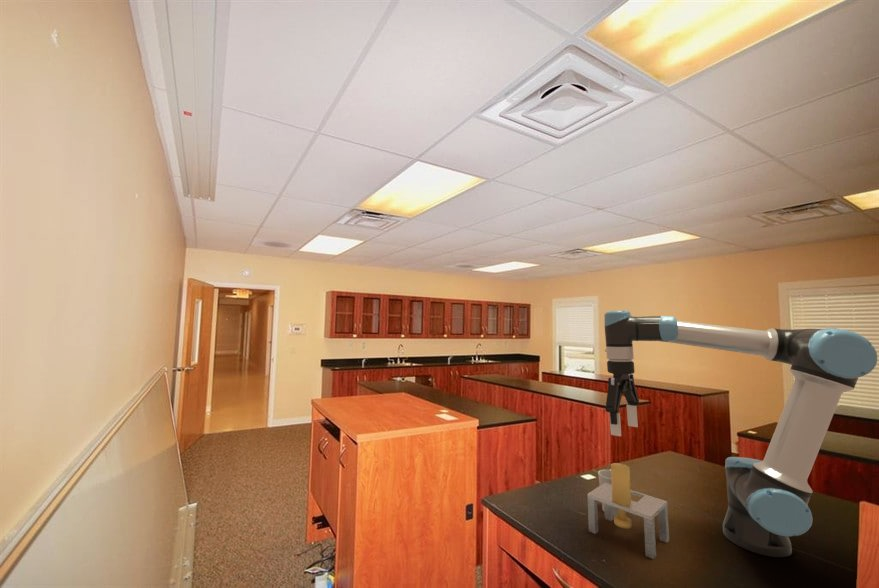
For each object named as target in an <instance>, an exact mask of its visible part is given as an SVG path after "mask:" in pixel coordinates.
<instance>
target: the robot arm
mask: <svg viewBox="0 0 879 588" xmlns="http://www.w3.org/2000/svg"><path fill="white" fill-rule="evenodd" d="M604 335H605V346H606V347H605V350H604V351H605V352H606V359H608V361H606V365H607V372H608V373H609V374H612V377H608V381H607V382H608V386H607V395H606V402H605V412H606V413H608V414H609V426H610V427H609V428H610V435H611V436H616V437H622V427H621V412H619V410H620V406H621V405H620V404H621V401H622V397H623V396H624V397H625V400H626V403H627V404H626V414H627V415H626V418H627V426H628V427H632V428H633V427H634V428H638V427H639V426H638V424H639V422H638V410H637V407H638V406H640V404H641V403H640V399H639V396H638V391H637V388H636V387H637V386H636V384H635V381H634V379H635V378H634V373H635V372H636V371H635V362H634V361H633V360H634V359H635V356H634V346H633V342H663V343H670V344H676V345H677V344H679V345H685V346H692V347H700V348H705V349H712V350H719V351H726V352H733V353H739V354H740V353H741V354H747V355H753V356H754V355H755V356H761V357H764V358H765V359H766V360H767V361H772V362H777V363H783V364H786V365H787V364H788V365H789V366H791V367H790V369H789V371H790V373H791V374H792V375H793V377H794V381H793V383H792V387H791V389H790V392H789V393H788V397H787V399H786V402H785V404H784V407H783V409H782V412H781V414H780V417H779V420H778V422H777V424H776V426H775V427H776V428H775V430H774V433H773V434H772V438H771V439H770V442H769V445H768V447H767V449H766V453H765V455H764V457H763V460H760V459H756V458H750V457H741V456H740V457H739V456H728V457H727V458H725V462H724V463H725V465H724V468H725V477H726V490H727V502H728V503H727V505H728V506H727V507H728V508H727V510H726V513H725V517H724V520H723V521H722V532H723V533H722V534H723V535H724V537H725V538H726V539H727V540H729V541H730V542H731V543H733V544H735V545H736V546H738V547H741V548H742V549H744V550H747V551H750V552H752V553H755V554H759V555H762V556H766V557H767V556H768V557H773V558H787V557H790V556H791V555H792V554H793V550H792V549H793V548H792V543H791V539H790V537H798V536H801V535H803V534H806V533H807V532H808V531H809V529H810V528H811V527H812V525H813V514H812V511H811V509H810V506H809V505H808V504H809V502H810V499H811V497H812V494H813V489H812V488H811V486H810V485H809V483H808V478H809V476H810V474H811V471H812V469H813V466H814V464H815V461H816V460H817V457H818V454H819V451H820V449H821V446H822V445H823V441H824V439H825V437H826V434H827V432H828V430H829V427H830V424H831V421H832V419H833V417H834V414H835V412H836V410H837V407H838V404H839V402H840V399H841V397H842V395H843V394H844V393H846V392H850V391H854V389H855V386H856V385H857V382H858V379H859V378H862V377H864V376H867V375H868V374H870V373H871V372H872V371H873V370H874V369H875V368H876V366H877V364H878V353H877V350H876V349H875V347H874V345H873V344H872V342H870V341H869V339H868V338H866V337H865V336H863V335H861V334H859V333H857V332H854V331H851V330H847V329H842V328H841V329H840V328H836V327H830V328H802V329H801V328H800V329H799V328H798V329H797V328H796V329H787V328H786V329H785V328H773V327H772V328H768V329H767V330H761V329H752V328H746V327H745V328H743V327H735V326H727V325H719V324H710V323H701V322H692V321H684V320H677V318H676V317H675V316H673V315H655V316H654V315H651V316H649V315H648V316H632V313H631V312H630V310H609V311H606V312H605V313H604Z"/></svg>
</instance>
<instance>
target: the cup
mask: <svg viewBox="0 0 879 588" xmlns="http://www.w3.org/2000/svg"><path fill="white" fill-rule="evenodd" d="M597 475H598V482H599V483H598V484H599V486H600V485H602V484H603V483H605V482H608V483H611V484H612V479H611V469H599V470H598V472H597ZM601 509H602V511H603V512H604V503H602V502H601ZM615 515H618V508H616V507H613V516H615Z"/></svg>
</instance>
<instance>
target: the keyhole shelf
mask: <svg viewBox="0 0 879 588" xmlns="http://www.w3.org/2000/svg"><path fill="white" fill-rule="evenodd" d="M631 496H636V497H639V498H640V499H639V500H638V501H635V500H632V499H631V504H630V505H620V504H617V503H615V502H614V501H613V500H612V484H611V483H608V482H605V483H603V484H602V485H600V484H599V485H598V486H597V487H595V488H594V489H593V490H591V491H590V492H588V493H587V496H586V497H587V515H588V518H587V519H588V521H587V522H588V532H590V533H592V534H594V535H596V534H598V532H599V521H598V519H599V516H598V515H599V514H598V502H600V503H601V504H602V503H604V511H603V512H604V513H603V514H604V519H605V520H607V521H610V522H612V521H614V515H613V507H616V508H619V509H621V510H624V511H626V513H630V514H632V515H636V516H639V517H641V518H643V527H644V528H643V533H644V534H643V535H644V552H645V557H647V558H649V559H652V560H655V559H656V557H657V546H656V528H655V524H656V523H655V518H656V517H657V522H658V524H657V525H658V539H659V541H660V542H663V543H665V544H668V542H669V541H670V533H669V532H670V531H669V516H668V515H669V514H668V501H667V500H664V499H662V498H658V497H656V496H655V497H654V496H651V495H648V494H645V493H642V492H639V491H636V490H632V489H631Z"/></svg>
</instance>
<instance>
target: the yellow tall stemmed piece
mask: <svg viewBox="0 0 879 588" xmlns="http://www.w3.org/2000/svg"><path fill="white" fill-rule="evenodd" d="M610 470H611V479H612V500H613V501H614V502H615V503H617V504H620V505H630V504H631V500H632V494H631V490H632V489H631V472H630V466H629V465H628V464H624V463H619V462H613V463H611V464H610ZM627 515H628V514H627V511H624V510H621V509H619V508H618V515H613V518H614V519H613V523H614V525H615V526H616V527H618V528H620V529H631V528H632V519H631V518H630V517H628V516H627Z"/></svg>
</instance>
